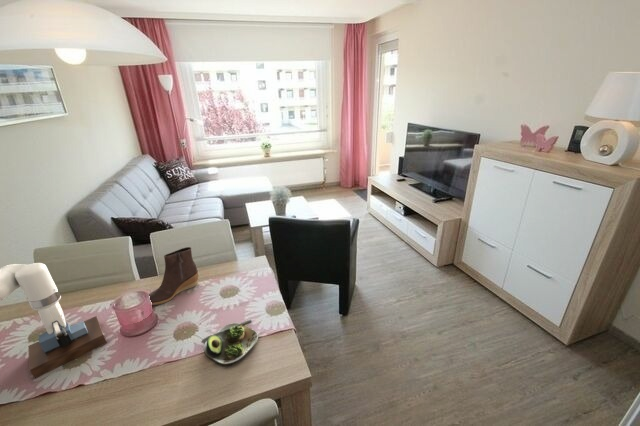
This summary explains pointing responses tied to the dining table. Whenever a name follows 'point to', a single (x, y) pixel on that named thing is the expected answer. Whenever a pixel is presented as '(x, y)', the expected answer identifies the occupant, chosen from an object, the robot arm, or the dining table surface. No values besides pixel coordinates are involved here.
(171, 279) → the boot
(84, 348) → the brown wooden block
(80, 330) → the stepped blue block
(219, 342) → the salad plate
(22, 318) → the dining table surface
